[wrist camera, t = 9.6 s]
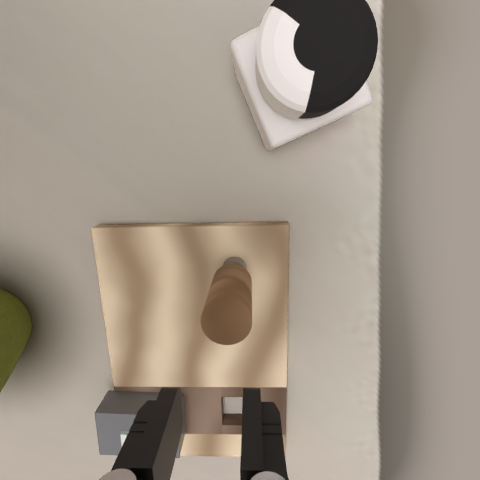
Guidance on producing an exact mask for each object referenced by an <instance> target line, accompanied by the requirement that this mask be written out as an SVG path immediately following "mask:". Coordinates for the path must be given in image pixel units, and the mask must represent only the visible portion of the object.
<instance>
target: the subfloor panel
mask: <svg viewBox="0 0 480 480" xmlns="http://www.w3.org/2000/svg"><path fill="white" fill-rule="evenodd" d="M91 231H92V238H93V245H94V251H95V258H96V265H97V272H98V279H99V286H100V293H101V300H102V307H103V314H104V321H105V328H106V335H107V342H108V349H109V356H110V363H111V370H112V376H113V383H114V390H115V391H134V392H160V390H161V388H162V387H180V389H181V393H184V406H185V436H184V440H183V445H182V449H181V453H180V456H233V457H241V437H242V414H223V397H243V388H260V391H261V402H274V403H275V405H276V407H277V408H278V410H279V411H280V418H281V426H282V436H283V444H284V452H285V447H286V389H287V331H288V273H289V224H288V222H235V223H170V224H106V225H97V226H94V227H92V228H91ZM230 257H239V258H241V259H242V260H243V261H244V262H245V264H246V270H247V271H248V272H249V274H250V276H251V279H252V328H251V331H250V333H249V334H248V336H247V337H246V338H245V339H244V340H242V341H241V342H239V343H237V344H233V345H221V344H217V343H215V342H213V341H211V340H210V339H209V338H208V337H207V336H206V335H205V334H204V332H203V330H202V328H201V323H200V320H201V315H202V311H203V308H204V305H205V302H206V299H207V296H208V293H209V290H210V286H211V283H212V280H213V277H214V274H215V273H216V271H217V270H218V269H219V268H220V267H222V266H223V264H224V262H225V260H227V259H228V258H230Z"/></svg>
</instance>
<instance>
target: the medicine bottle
mask: <svg viewBox="0 0 480 480" xmlns="http://www.w3.org/2000/svg"><path fill="white" fill-rule="evenodd" d="M377 45H378V35H377V27H376V22H375V19H374V16H373V13H372V11H371V9H370V7H369V5H368V3H367V2H366V1H365V0H274V1H273V3H272V4H271V5H270V6H269V8H268V10H267V11H266V13H265V15H264V17H263V19H262V22H261V24H260V25H259V26H258V27H256V28H254V29H252V30H250V31H248V32H246V33H244V34H242V35H240V36H238V37H236V38H234V39H233V40H232V41H231V44H230V46H231V52H232V58H233V63H234V69H235V75H236V77H237V80H238V82H239V85H240V87H241V89H242V92H243V94H244V97H245V99H246V102H247V104H248V106H249V109H250V111H251V114H252V116H253V119H254V121H255V124H256V126H257V128H258V131H259V133H260V136H261V138H262V141H263V143H264V146H265V148H266V149H267V150H272V149H275V148H277V147H279V146H281V145H283V144H286V143H288V142H290V141H292V140H294V139H296V138H299V137H301V136H303V135H305V134H307V133H309V132H312V131H314V130H316V129H318V128H320V127H323V126H325V125H327V124H329V123H331V122H333V121H336V120H338V119H340V118H342V117H344V116H346V115H349V114H351V113H353V112H355V111H357V110H359V109H361V108H363V107H366V106H368V105H369V104H370V103H371V102H372V95H371V91H370V88H369V85H368V82H367V78H368V77H369V75H370V72H371V70H372V68H373V65H374V62H375V59H376V53H377Z"/></svg>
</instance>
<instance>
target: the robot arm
mask: <svg viewBox="0 0 480 480" xmlns="http://www.w3.org/2000/svg"><path fill="white" fill-rule="evenodd" d="M182 427H183V412H182V399H181V389H180V387H162V388H161V390H160V392H159V395H158V397H157V400H148V401H147V402H146V403H145V404H144V405H143V406H142V407H141V408H140V409H139V410H138V412H137V414H136V417H135V419H134V421H133V424H132V425H131V428H130V430H129V433H128V434H127V437H126V439H125V441H124V443H123V445H122V448H121V450H120V452H119V454H118V457H117V459H116V461H115V463H114V465H113V468H112V470H111V471H110V472H108V473H107V474H105V475H104V476H102V477H101V478H100V479H99V480H170V477H171V473H172V469H173V465H174V461H175V457H176V453H177V449H178V445H179V442H180V438H181V433H182ZM240 474H241V480H289V479H288V476H287V470H286V461H285V452H284V444H283V436H282V426H281V418H280V411H279V410H278V408H277V407H276V405H275V403H274V402H261V391H260V388H243V408H242V437H241V467H240Z"/></svg>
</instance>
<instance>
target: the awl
mask: <svg viewBox="0 0 480 480" xmlns="http://www.w3.org/2000/svg"><path fill="white" fill-rule="evenodd" d="M200 323H201V328H202V330H203V332H204V334H205V335H206V336H207V337H208V338H209V339H210V340H211V341H213V342H215V343H217V344H221V345H233V344H237V343H239V342H241V341H242V340H244V339H245V338H246V337H247V336H248V334H249V333H250V331H251V328H252V279H251V276H250V274H249V272H248V271H247V270H246V264H245V262H244V261H243V260H242V259H241V258H239V257H230V258H228V259H227V260H225V262H224V264H223V266H222V267H220V268H219V269H218V270H217V271H216V273H215V274H214V277H213V280H212V283H211V286H210V290H209V293H208V296H207V299H206V302H205V305H204V308H203V311H202V315H201V320H200Z"/></svg>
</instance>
